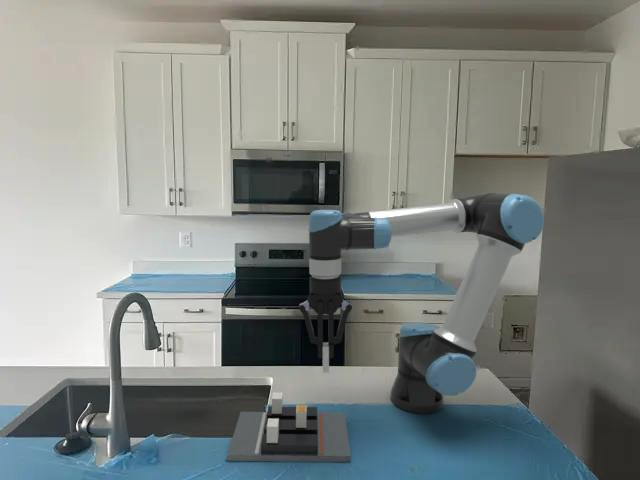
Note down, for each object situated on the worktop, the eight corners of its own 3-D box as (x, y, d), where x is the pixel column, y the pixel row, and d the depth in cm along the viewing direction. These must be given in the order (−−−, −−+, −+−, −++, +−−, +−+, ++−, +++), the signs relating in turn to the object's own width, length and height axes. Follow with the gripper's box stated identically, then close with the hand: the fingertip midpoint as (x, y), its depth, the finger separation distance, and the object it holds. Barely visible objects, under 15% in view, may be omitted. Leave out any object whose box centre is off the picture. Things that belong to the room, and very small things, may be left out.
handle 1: (282, 406, 118) (282, 392, 117) (281, 413, 114) (281, 399, 114) (273, 406, 118) (273, 392, 117) (271, 413, 114) (271, 398, 114)
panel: (344, 418, 120) (344, 405, 119) (350, 462, 101) (351, 447, 101) (240, 416, 119) (240, 404, 119) (227, 461, 100) (227, 446, 100)
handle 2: (278, 434, 105) (278, 418, 104) (277, 443, 101) (277, 426, 101) (268, 434, 105) (268, 418, 104) (266, 442, 101) (266, 426, 101)
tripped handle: (306, 420, 111) (306, 404, 111) (306, 427, 108) (306, 411, 107) (296, 420, 111) (296, 404, 111) (295, 427, 108) (296, 411, 107)
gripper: (351, 272, 109) (351, 363, 112) (298, 272, 109) (299, 364, 112) (354, 278, 101) (353, 376, 105) (297, 279, 101) (298, 377, 104)
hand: (325, 370), depth 108 cm, fingers closed
